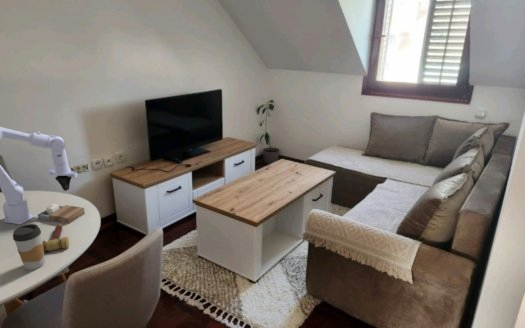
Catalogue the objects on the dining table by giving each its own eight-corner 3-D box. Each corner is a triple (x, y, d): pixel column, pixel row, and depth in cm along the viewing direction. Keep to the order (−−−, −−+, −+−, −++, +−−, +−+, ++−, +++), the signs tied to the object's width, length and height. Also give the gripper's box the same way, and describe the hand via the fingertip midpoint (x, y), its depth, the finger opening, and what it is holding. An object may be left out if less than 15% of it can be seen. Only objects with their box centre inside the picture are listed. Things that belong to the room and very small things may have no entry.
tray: (38, 218, 158) (37, 214, 157) (56, 208, 167) (55, 204, 166) (49, 220, 156) (48, 216, 155) (66, 210, 165) (65, 206, 164)
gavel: (45, 222, 149) (71, 218, 153) (47, 232, 151) (73, 227, 154) (36, 245, 131) (66, 239, 134) (38, 256, 132) (68, 250, 136)
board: (50, 220, 156) (48, 215, 155) (67, 210, 165) (66, 205, 164) (68, 223, 154) (67, 218, 153) (84, 213, 163) (83, 207, 162)
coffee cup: (38, 256, 131) (29, 221, 126) (53, 261, 128) (45, 226, 123) (16, 268, 124) (5, 232, 119) (32, 274, 121) (22, 238, 116)
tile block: (53, 216, 159) (47, 215, 160) (60, 212, 163) (55, 211, 164) (51, 208, 158) (46, 207, 159) (58, 204, 161) (53, 203, 162)
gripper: (80, 161, 160) (85, 188, 165) (54, 158, 163) (60, 184, 168) (69, 166, 154) (74, 194, 158) (42, 163, 157) (48, 190, 162)
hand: (66, 189), depth 163 cm, fingers closed
